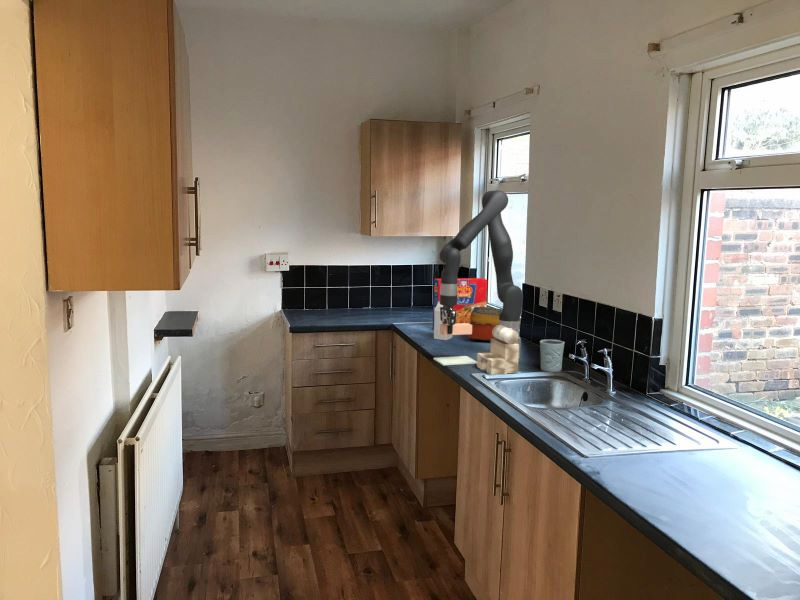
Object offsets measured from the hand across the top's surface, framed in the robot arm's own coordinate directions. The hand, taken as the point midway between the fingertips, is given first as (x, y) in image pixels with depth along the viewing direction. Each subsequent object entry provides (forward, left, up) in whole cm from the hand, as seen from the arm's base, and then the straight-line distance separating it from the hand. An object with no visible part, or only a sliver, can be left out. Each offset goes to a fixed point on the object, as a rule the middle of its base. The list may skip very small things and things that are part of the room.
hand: (447, 332), depth 293 cm
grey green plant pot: (-38, +23, -13) cm, 46 cm away
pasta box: (-35, -70, -13) cm, 79 cm away
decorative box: (-39, -40, -13) cm, 57 cm away
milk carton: (-17, -48, -13) cm, 53 cm away
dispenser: (-15, +19, -13) cm, 27 cm away
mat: (-4, 0, -13) cm, 14 cm away
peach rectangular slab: (-4, 0, -1) cm, 4 cm away
